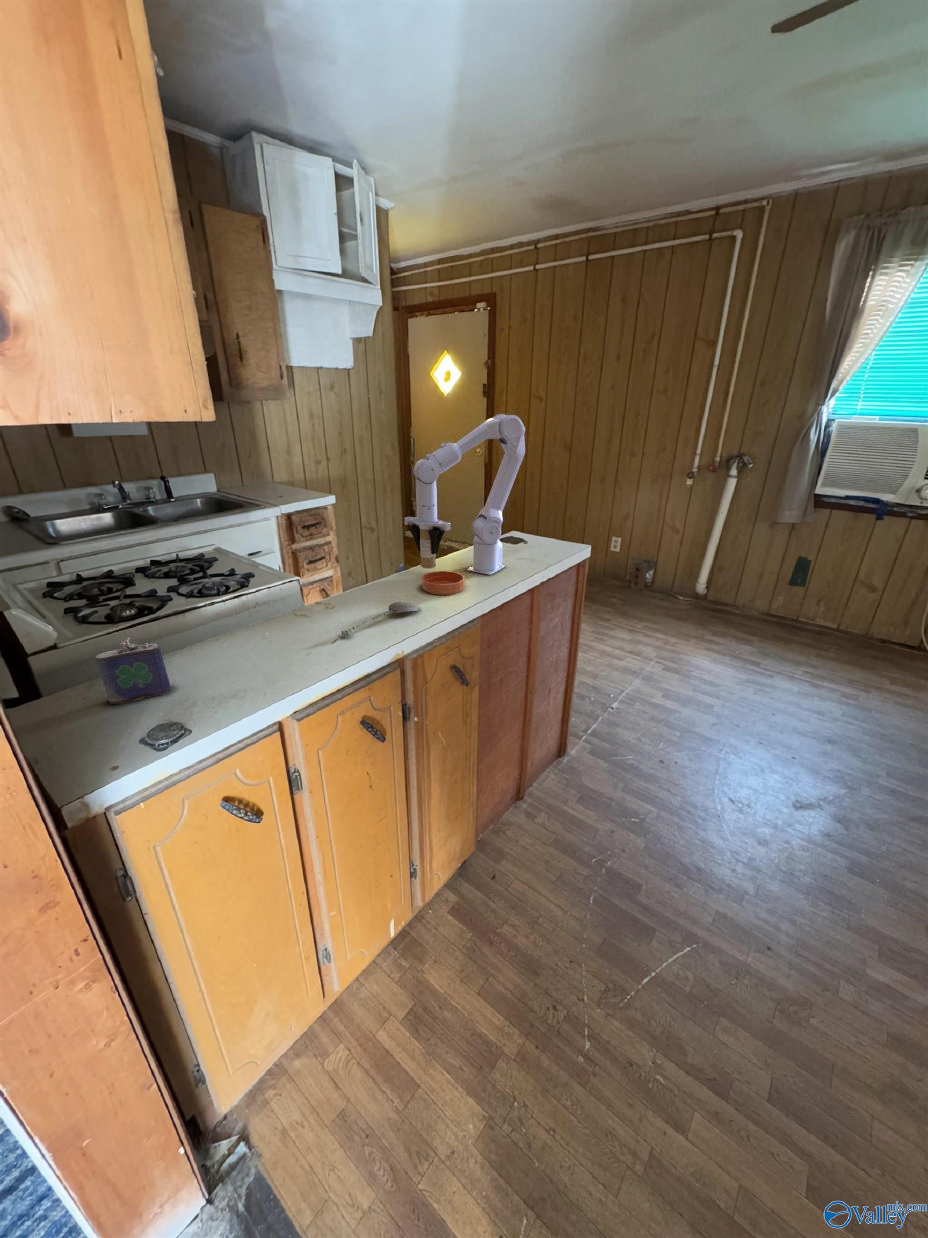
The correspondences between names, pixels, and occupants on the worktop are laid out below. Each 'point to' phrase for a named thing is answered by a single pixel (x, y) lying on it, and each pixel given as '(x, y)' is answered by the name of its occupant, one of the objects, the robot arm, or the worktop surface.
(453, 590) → the terracotta plant saucer
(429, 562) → the sprinkles bottle
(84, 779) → the worktop surface
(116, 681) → the flask
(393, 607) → the soupspoon
